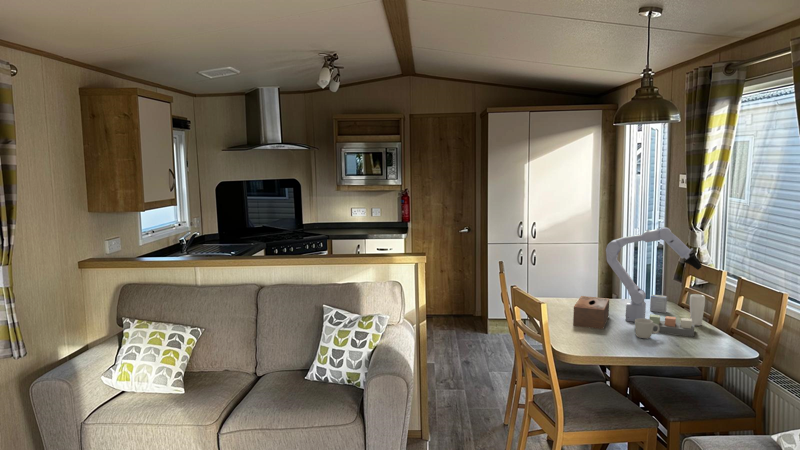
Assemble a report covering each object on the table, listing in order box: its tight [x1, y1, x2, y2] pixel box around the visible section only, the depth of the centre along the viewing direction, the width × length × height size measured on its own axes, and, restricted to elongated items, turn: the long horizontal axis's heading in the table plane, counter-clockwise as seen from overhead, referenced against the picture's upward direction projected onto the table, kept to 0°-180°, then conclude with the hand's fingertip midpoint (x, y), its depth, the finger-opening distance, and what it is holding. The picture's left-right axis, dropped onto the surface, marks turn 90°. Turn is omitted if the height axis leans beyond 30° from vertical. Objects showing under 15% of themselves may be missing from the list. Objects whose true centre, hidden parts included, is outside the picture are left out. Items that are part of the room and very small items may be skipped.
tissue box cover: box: [572, 295, 610, 330], centre depth 295 cm, size 26×14×10 cm, turn 154°
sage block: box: [648, 313, 661, 325], centre depth 281 cm, size 4×4×4 cm
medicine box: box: [649, 294, 668, 314], centre depth 314 cm, size 8×4×9 cm, turn 58°
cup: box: [634, 318, 660, 339], centre depth 267 cm, size 11×8×8 cm
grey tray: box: [653, 320, 696, 338], centre depth 278 cm, size 21×11×3 cm, turn 61°
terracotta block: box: [664, 315, 677, 327], centre depth 277 cm, size 4×4×4 cm
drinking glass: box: [689, 293, 706, 326], centre depth 288 cm, size 7×7×15 cm
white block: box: [680, 317, 692, 329], centre depth 274 cm, size 4×4×4 cm
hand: (700, 267), depth 279 cm, fingers open, 7 cm apart
